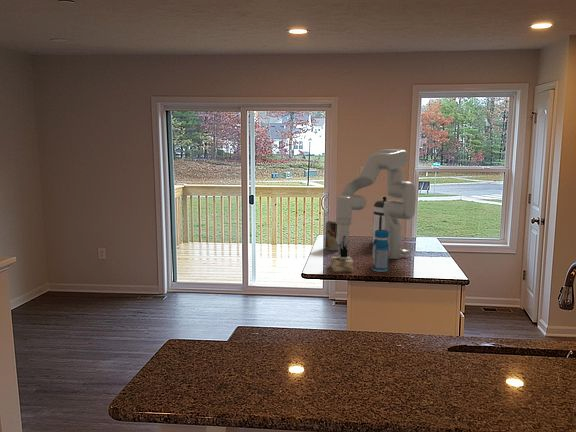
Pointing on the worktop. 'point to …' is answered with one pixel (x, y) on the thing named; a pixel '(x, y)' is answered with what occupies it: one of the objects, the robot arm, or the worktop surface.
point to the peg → (340, 254)
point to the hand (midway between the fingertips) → (342, 254)
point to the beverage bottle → (380, 251)
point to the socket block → (342, 264)
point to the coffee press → (378, 216)
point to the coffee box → (331, 236)
